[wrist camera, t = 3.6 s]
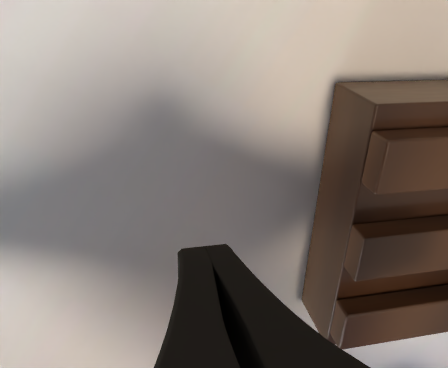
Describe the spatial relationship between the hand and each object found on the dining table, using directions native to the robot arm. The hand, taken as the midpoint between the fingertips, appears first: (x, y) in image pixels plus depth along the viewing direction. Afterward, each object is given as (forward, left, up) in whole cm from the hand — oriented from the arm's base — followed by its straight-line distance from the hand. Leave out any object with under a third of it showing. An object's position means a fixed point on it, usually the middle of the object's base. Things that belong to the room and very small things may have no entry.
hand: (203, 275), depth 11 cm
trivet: (+9, 0, -3) cm, 10 cm away
